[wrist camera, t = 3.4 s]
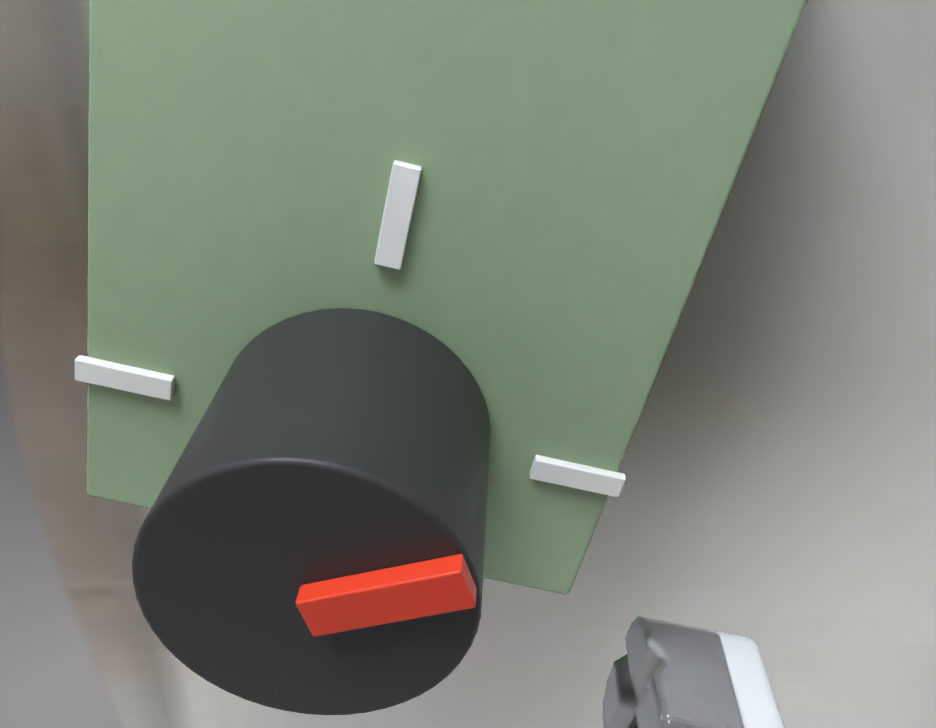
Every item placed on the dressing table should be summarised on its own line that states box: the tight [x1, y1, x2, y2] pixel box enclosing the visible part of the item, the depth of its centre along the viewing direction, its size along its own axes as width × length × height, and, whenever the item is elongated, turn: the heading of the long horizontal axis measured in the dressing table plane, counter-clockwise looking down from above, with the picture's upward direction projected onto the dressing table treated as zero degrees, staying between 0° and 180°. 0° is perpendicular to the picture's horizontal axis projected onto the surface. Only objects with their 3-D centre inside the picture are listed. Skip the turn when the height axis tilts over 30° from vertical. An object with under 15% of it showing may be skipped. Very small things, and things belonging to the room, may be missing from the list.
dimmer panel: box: [75, 0, 807, 594], centre depth 13 cm, size 13×8×3 cm, turn 167°
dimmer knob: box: [132, 308, 491, 715], centre depth 11 cm, size 4×4×4 cm
